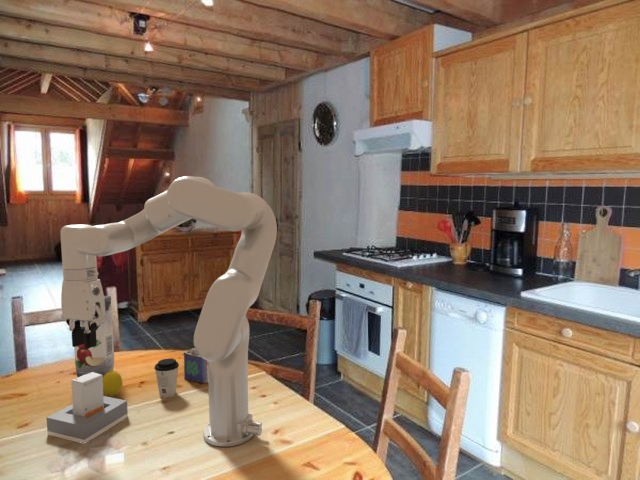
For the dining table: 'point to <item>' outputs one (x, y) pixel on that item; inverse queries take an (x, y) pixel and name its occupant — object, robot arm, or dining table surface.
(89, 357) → the juice carton
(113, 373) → the lemon
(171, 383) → the coffee cup
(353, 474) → the dining table surface
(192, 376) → the flask
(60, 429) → the socket plate
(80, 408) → the skincare box
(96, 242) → the robot arm
